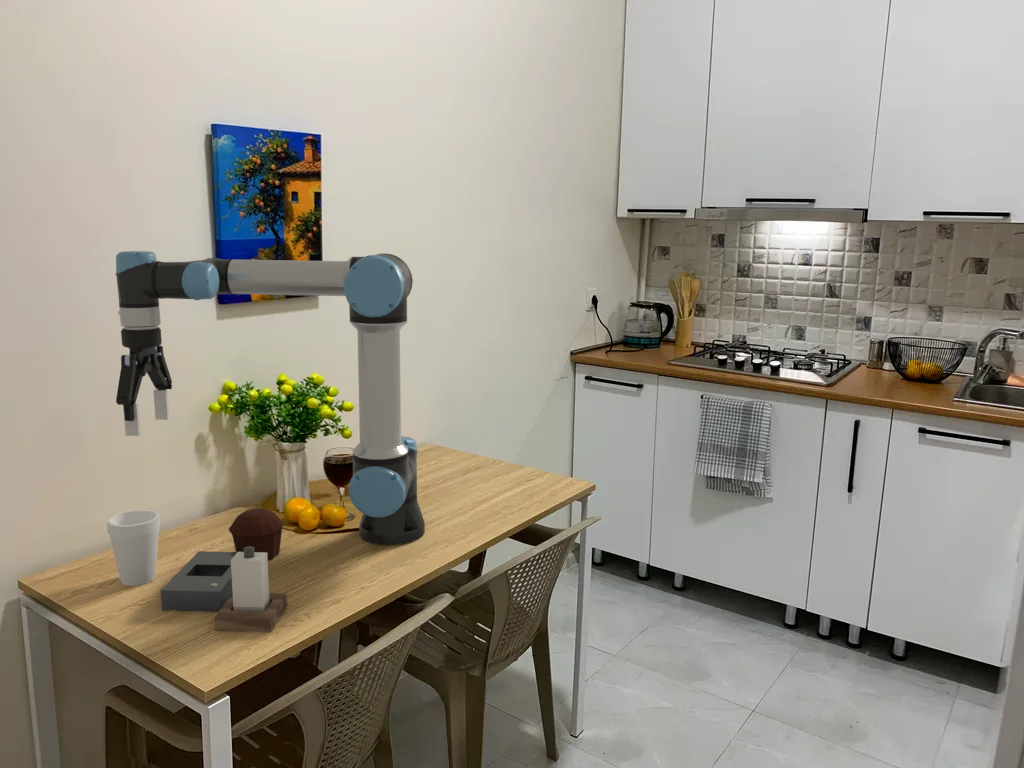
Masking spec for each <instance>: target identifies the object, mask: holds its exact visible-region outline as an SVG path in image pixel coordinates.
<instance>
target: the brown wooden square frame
mask: <svg viewBox="0 0 1024 768" xmlns="http://www.w3.org/2000/svg"><path fill="white" fill-rule="evenodd" d="M287 594H288V593H287V592H269V601H270V605H269V606H268V608H267V609H266V611H234V609H233V594H232V595H231V596H230V598H229V599H228V600H227V602H226V603H225V604H224V605H223V607H222V608H221V609H220V611H219V612H217V613H216V615H215V616H213V617H214V618H213V619H214V621H213V622H214V631H221V632H227V631H228V632H261V633H263V632H269V633H271V632H273V630H274V628H275V626H276V625H277V623H278V621H280V618H281V617H282V615H283V613H284V612H285V610H286V609H287V606H288V595H287Z"/></svg>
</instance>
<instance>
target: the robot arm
mask: <svg viewBox="0 0 1024 768" xmlns="http://www.w3.org/2000/svg"><path fill="white" fill-rule="evenodd" d="M409 267H410V266H409V265H408V264H407V263H406V262H405V261H404V260H403V259H402V258H400V257H399V256H397V255H394V254H392V253H382V252H381V253H378V254H377V253H376V254H372V255H371V254H370V255H369V254H368V255H367V256H351V257H350V258H348V259H347V261H346V260H294V259H293V260H289V259H288V260H287V259H286V260H285V259H284V260H283V259H277V260H275V259H228V258H226V259H221V258H219V257H217V258H216V257H212V258H211V257H210V258H209V257H208V258H206V259H199V260H190V261H159V260H157V256H156V253H155V252H154V251H150V250H149V251H147V250H145V251H144V250H143V251H142V250H135V251H134V250H131V251H130V250H128V251H127V250H126V251H120V252H118V253H117V254H116V255H115V276H116V284H117V295H118V305H119V310H118V311H117V312H118V315H119V321H120V326H121V327H123V328H121V330H120V335H121V337H120V338H121V345H122V347H124V348H127V349H129V354H122V355H121V356H120V365H121V366H120V373H119V379H118V385H117V391H116V392H117V393H116V398H115V403H116V404H117V406H118V405H119V406H121V405H122V407H123V420H124V433H125V437H126V436H127V437H129V436H130V437H132V436H133V437H140V436H141V422H140V412H139V411H140V410H139V403H136V402H137V399H138V395H139V391H140V388H141V384H142V381H143V378H144V377H145V376H146V375H147V376H148V377H149V379H150V380H151V383H152V384H153V386H154V388H155V389H154V390H153V403H154V415H155V417H154V418H155V420H158V421H159V420H163V421H164V420H165V421H166V420H167V421H169V420H170V411H169V396H168V390H172V389H173V381H172V377H171V375H170V372H169V371H170V370H169V367H168V365H167V362H166V359H165V355H164V347H163V346H162V342H163V341H162V329H161V328H160V327H159V326H160V325H161V322H162V321H161V314H160V313H161V311H160V302H159V301H160V300H164V299H170V300H171V299H175V300H176V299H177V300H194V301H200V300H212V299H214V298H215V297H216V295H267V296H268V295H269V296H270V295H273V296H275V295H278V296H280V295H281V296H314V297H316V296H317V297H318V296H319V297H320V296H324V297H326V296H327V297H345V299H346V301H347V303H348V307H349V310H348V311H349V324H351V325H352V326H353V327H354V328H355V329H356V332H357V369H358V370H357V371H358V372H357V373H358V413H359V414H358V415H359V416H358V417H359V418H358V419H359V443H358V444H357V445H356V446H355V447H354V448H353V450H352V477H351V478H350V481H349V485H348V495H349V499H350V501H351V503H352V505H353V506H354V508H355V509H357V510H358V511H359V512H360V513H362V515H361V518H360V522H359V525H358V529H359V533H358V535H359V537H360V538H361V539H362V540H363V541H365V542H367V543H370V544H374V545H382V546H384V545H385V546H392V545H393V546H395V545H396V546H397V545H402V544H403V545H404V544H409V543H412V542H415V541H417V540H420V539H421V538H422V537H423V536H424V535H425V532H426V527H425V526H426V524H425V520H424V517H423V514H422V510H421V508H420V504H419V502H418V467H417V466H418V463H417V462H418V461H417V460H418V456H417V454H418V449H417V441H416V440H415V439H414V438H413V437H410V436H403V435H402V427H401V424H402V422H401V421H402V420H401V419H402V418H401V417H402V416H401V414H402V413H401V411H402V410H401V409H402V408H401V407H402V405H401V402H402V401H401V400H402V399H401V334H400V333H401V329H402V328H403V327H404V326H405V325H406V324H407V323H408V297H409V296H410V294H411V291H412V288H413V281H414V279H413V274H412V271H411V268H409ZM423 534H424V535H423ZM421 536H422V537H421ZM420 537H421V538H420ZM414 540H415V541H414Z"/></svg>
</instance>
